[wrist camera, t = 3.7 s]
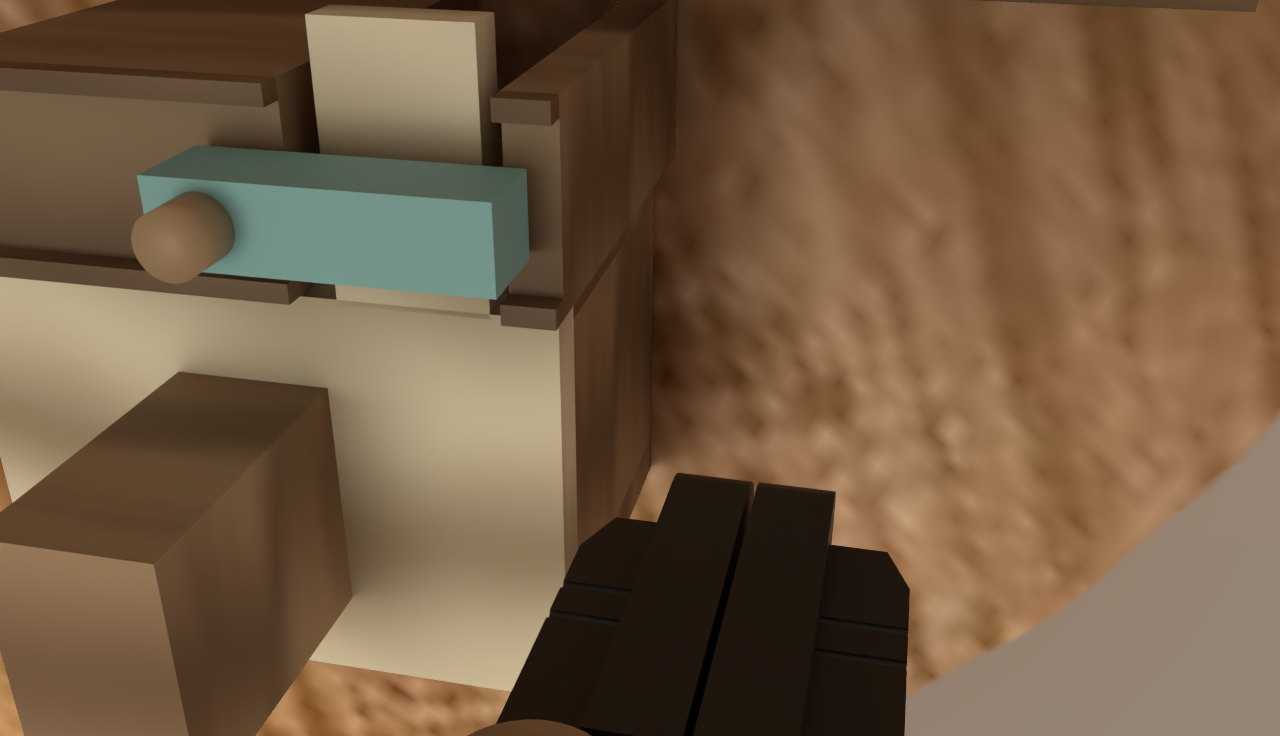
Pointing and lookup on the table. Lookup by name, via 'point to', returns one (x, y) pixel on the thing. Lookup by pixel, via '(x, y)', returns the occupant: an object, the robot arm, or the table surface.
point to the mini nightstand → (286, 121)
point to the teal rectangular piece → (334, 221)
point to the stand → (1161, 4)
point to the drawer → (285, 453)
